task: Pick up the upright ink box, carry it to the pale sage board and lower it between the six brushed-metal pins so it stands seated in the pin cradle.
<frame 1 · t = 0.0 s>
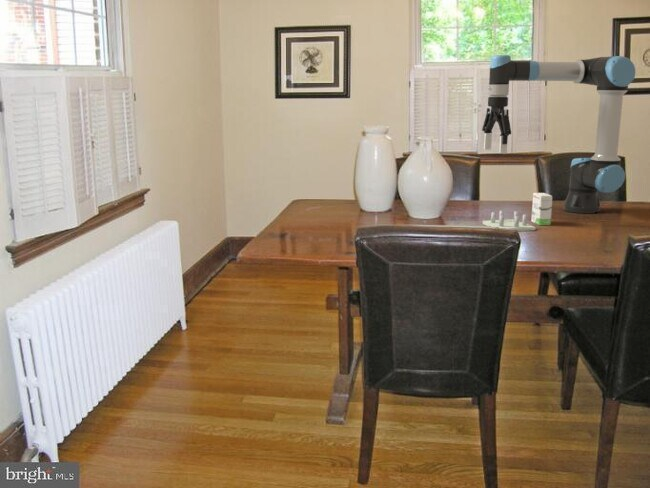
hand: (495, 151, 277), 28 cm above the table, fingers open, 13 cm apart
ink box: (540, 223, 279), on the table
pin tray: (508, 226, 271), on the table
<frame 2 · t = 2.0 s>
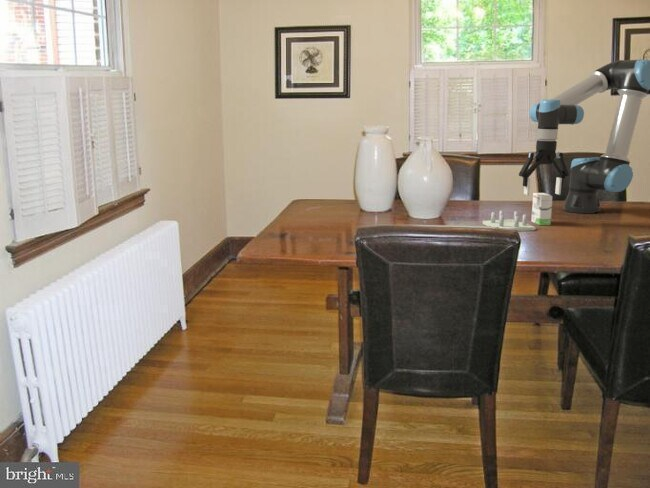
hand: (542, 194, 276), 12 cm above the table, fingers open, 13 cm apart
nothing on the table moved.
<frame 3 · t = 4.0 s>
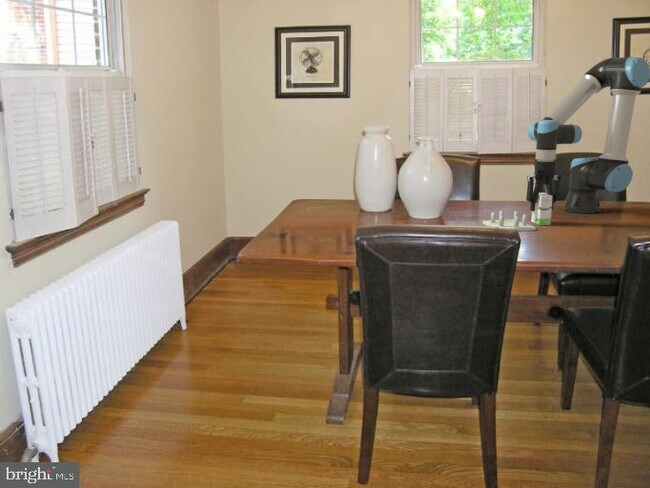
hand: (540, 218, 278), 2 cm above the table, fingers closed on ink box, 5 cm apart
ink box: (540, 223, 279), on the table, touching gripper
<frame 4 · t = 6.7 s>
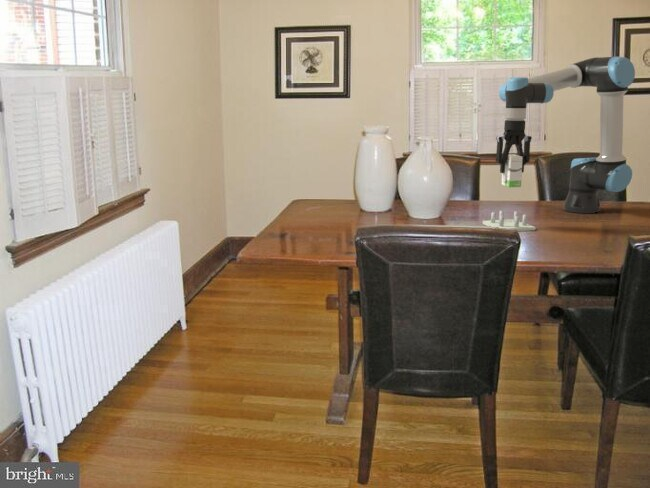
hand: (511, 181, 267), 18 cm above the table, fingers closed on ink box, 5 cm apart
ink box: (510, 186, 268), point 16 cm above the table, touching gripper
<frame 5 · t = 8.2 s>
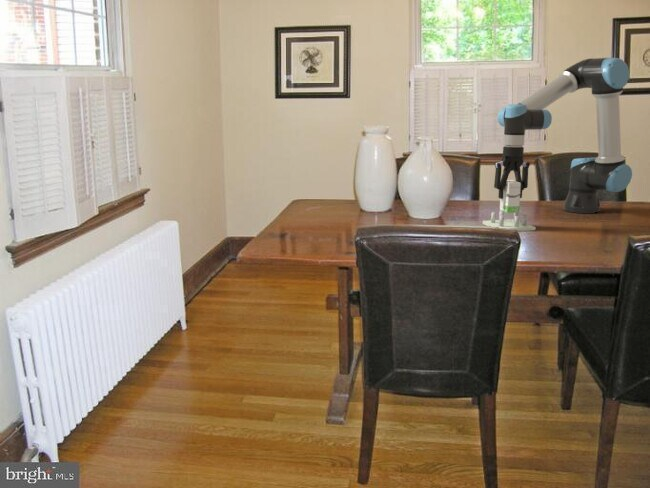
hand: (509, 206, 270), 8 cm above the table, fingers closed on ink box, 5 cm apart
ink box: (509, 211, 270), point 6 cm above the table, touching gripper
when the fingers open (5 cm above the table, at t = 9.6 s): ink box drops 2 cm, resting on pin tray.
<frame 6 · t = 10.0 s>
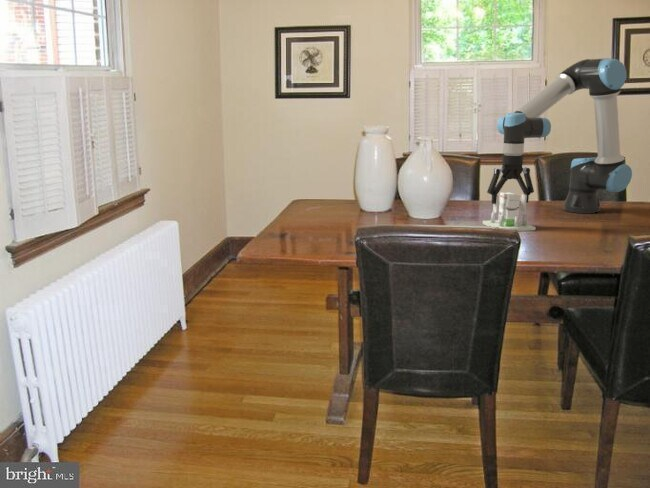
hand: (509, 211, 270), 6 cm above the table, fingers open, 11 cm apart
ink box: (507, 224, 271), point 1 cm above the table, touching pin tray
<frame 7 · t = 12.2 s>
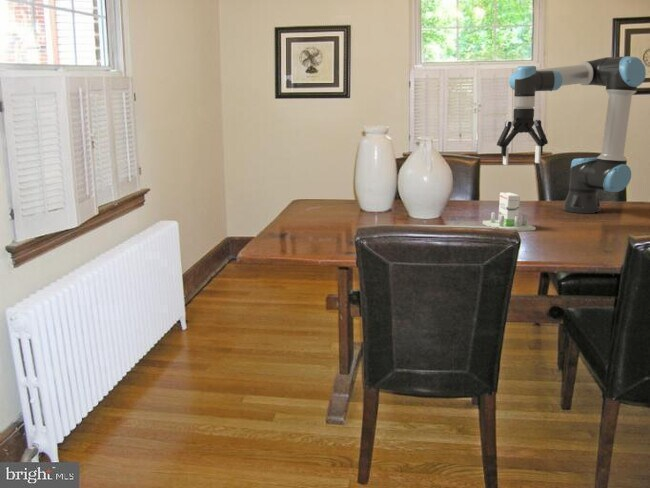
hand: (521, 163, 271), 24 cm above the table, fingers open, 13 cm apart
nothing on the table moved.
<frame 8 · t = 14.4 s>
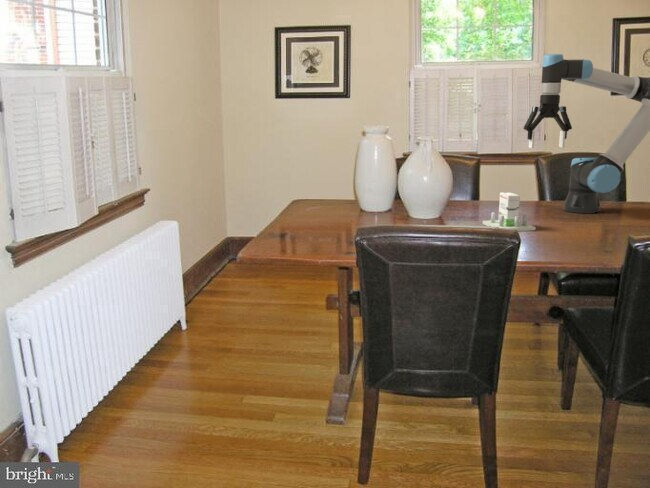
hand: (546, 147, 285), 29 cm above the table, fingers open, 13 cm apart
nothing on the table moved.
at the end: ink box 0.3 cm off-centre on the pin tray, point 1.0 cm above the pin tray's base; ink box tilted 0°; the gripper is holding nothing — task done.
